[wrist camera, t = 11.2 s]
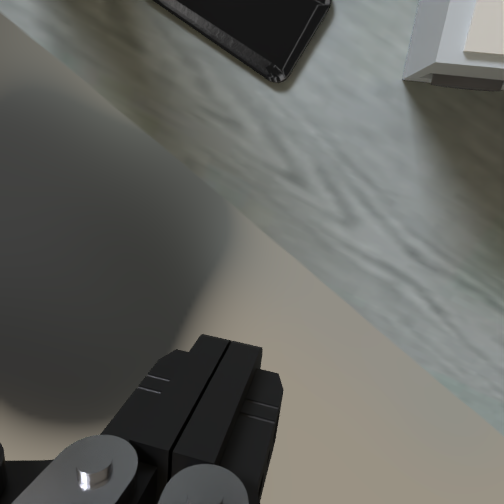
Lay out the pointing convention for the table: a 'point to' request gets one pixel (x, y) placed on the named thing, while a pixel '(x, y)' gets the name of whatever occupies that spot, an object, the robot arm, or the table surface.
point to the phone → (255, 29)
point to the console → (457, 40)
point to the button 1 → (466, 82)
